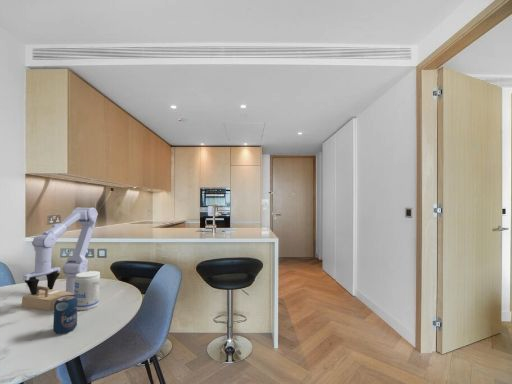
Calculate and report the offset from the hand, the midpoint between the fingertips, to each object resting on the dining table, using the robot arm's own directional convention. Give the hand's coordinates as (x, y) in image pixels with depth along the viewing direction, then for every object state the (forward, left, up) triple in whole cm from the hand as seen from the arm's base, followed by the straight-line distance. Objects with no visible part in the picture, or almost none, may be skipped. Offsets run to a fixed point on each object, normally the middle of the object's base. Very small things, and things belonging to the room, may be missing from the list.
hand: (42, 291), depth 114 cm
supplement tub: (-19, +5, -7) cm, 21 cm away
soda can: (-19, +27, -7) cm, 34 cm away
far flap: (0, 0, -2) cm, 2 cm away
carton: (-1, -2, -6) cm, 7 cm away
